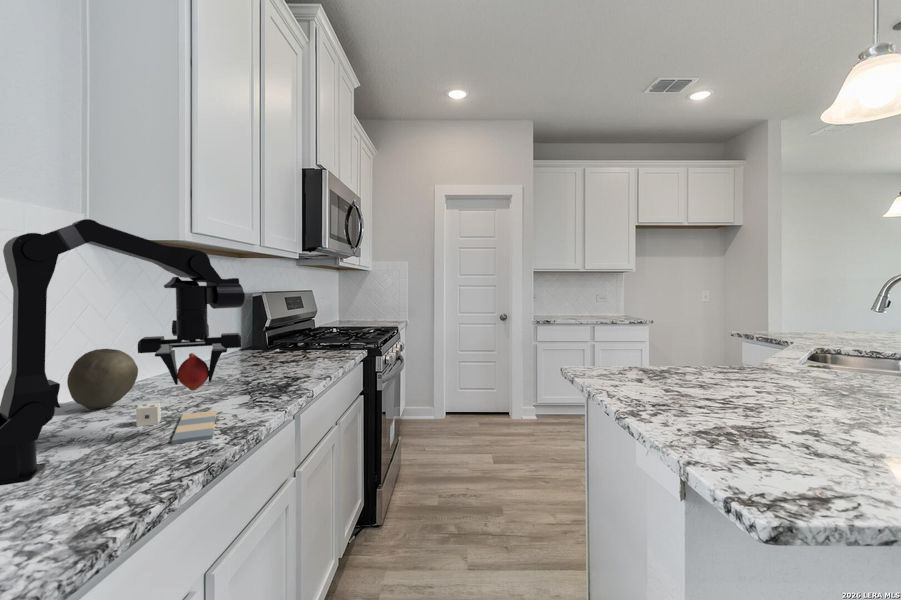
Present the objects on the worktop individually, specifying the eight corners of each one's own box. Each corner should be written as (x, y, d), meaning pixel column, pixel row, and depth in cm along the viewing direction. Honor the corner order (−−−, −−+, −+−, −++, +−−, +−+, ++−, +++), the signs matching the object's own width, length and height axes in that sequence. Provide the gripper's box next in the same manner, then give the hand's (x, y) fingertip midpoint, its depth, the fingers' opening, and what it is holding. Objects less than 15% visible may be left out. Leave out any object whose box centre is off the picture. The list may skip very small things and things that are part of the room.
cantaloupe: (82, 417, 108) (80, 354, 107) (60, 409, 115) (57, 350, 115) (147, 404, 119) (146, 347, 119) (123, 397, 127) (121, 344, 127)
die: (157, 424, 102) (157, 406, 102) (136, 426, 100) (136, 408, 100) (160, 419, 106) (160, 402, 106) (140, 422, 104) (139, 404, 104)
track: (212, 438, 92) (212, 434, 92) (171, 444, 89) (171, 440, 89) (216, 413, 110) (216, 410, 110) (182, 417, 107) (182, 414, 107)
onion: (202, 386, 101) (201, 350, 100) (214, 389, 97) (213, 352, 97) (173, 391, 96) (172, 353, 96) (184, 395, 92) (183, 355, 92)
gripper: (240, 307, 107) (241, 372, 108) (146, 309, 99) (148, 380, 100) (240, 309, 97) (241, 381, 98) (136, 311, 89) (138, 390, 90)
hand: (193, 382), depth 96 cm, fingers closed on onion, 6 cm apart
